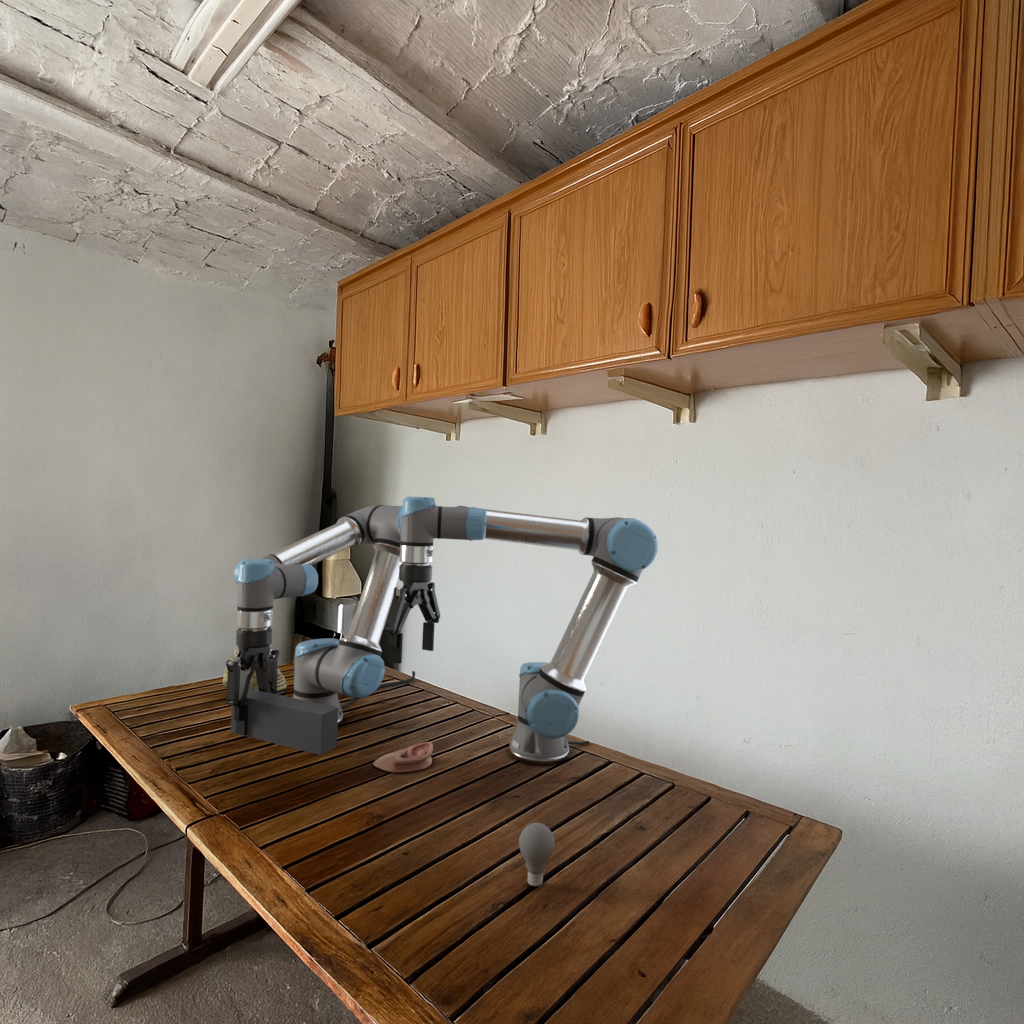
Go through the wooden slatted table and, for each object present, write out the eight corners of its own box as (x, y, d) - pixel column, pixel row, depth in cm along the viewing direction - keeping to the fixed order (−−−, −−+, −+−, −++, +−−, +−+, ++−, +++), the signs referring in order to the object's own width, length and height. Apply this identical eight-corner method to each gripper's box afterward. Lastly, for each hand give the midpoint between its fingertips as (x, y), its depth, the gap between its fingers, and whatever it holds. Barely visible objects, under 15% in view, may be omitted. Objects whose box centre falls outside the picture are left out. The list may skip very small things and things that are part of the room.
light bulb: (515, 873, 109) (518, 816, 109) (550, 873, 109) (552, 816, 109) (518, 895, 103) (521, 834, 103) (555, 895, 104) (558, 834, 103)
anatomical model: (368, 752, 148) (387, 734, 159) (367, 769, 148) (386, 750, 159) (422, 759, 145) (438, 741, 156) (421, 776, 145) (437, 757, 156)
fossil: (218, 695, 195) (220, 647, 195) (278, 685, 208) (279, 640, 207) (228, 703, 189) (230, 653, 188) (289, 692, 201) (290, 645, 201)
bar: (230, 732, 143) (231, 694, 143) (248, 725, 148) (249, 688, 147) (320, 755, 133) (322, 714, 132) (337, 746, 137) (338, 707, 137)
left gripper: (234, 637, 133) (231, 746, 134) (296, 623, 150) (293, 720, 151) (208, 633, 136) (205, 739, 137) (272, 619, 153) (269, 714, 154)
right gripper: (399, 569, 132) (394, 670, 133) (456, 561, 155) (452, 647, 155) (369, 566, 135) (365, 665, 136) (430, 558, 158) (426, 643, 158)
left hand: (251, 729), depth 144 cm, fingers closed on bar, 5 cm apart
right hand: (412, 656), depth 145 cm, fingers open, 13 cm apart
